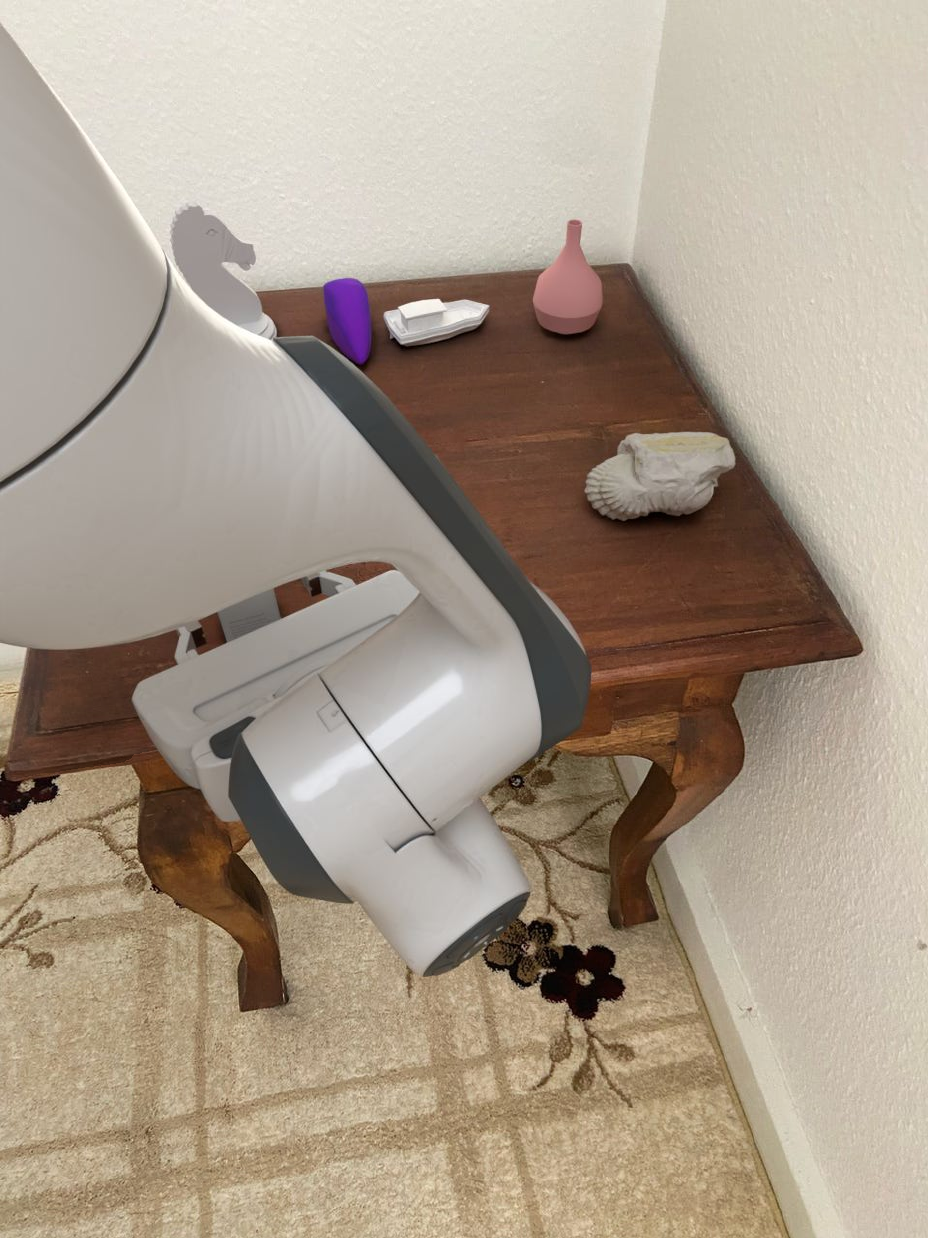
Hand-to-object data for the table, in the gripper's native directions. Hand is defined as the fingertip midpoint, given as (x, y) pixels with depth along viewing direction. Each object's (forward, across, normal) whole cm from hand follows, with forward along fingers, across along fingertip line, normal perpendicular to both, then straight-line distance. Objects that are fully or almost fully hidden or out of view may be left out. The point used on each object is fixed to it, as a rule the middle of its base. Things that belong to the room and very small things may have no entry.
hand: (248, 596), depth 62 cm
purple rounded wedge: (+37, -28, +7) cm, 47 cm away
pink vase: (+26, -49, +7) cm, 55 cm away
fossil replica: (-3, -36, +7) cm, 37 cm away
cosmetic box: (+2, 0, +7) cm, 7 cm away
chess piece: (+44, -16, +7) cm, 48 cm away
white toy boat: (+33, -37, +7) cm, 50 cm away
